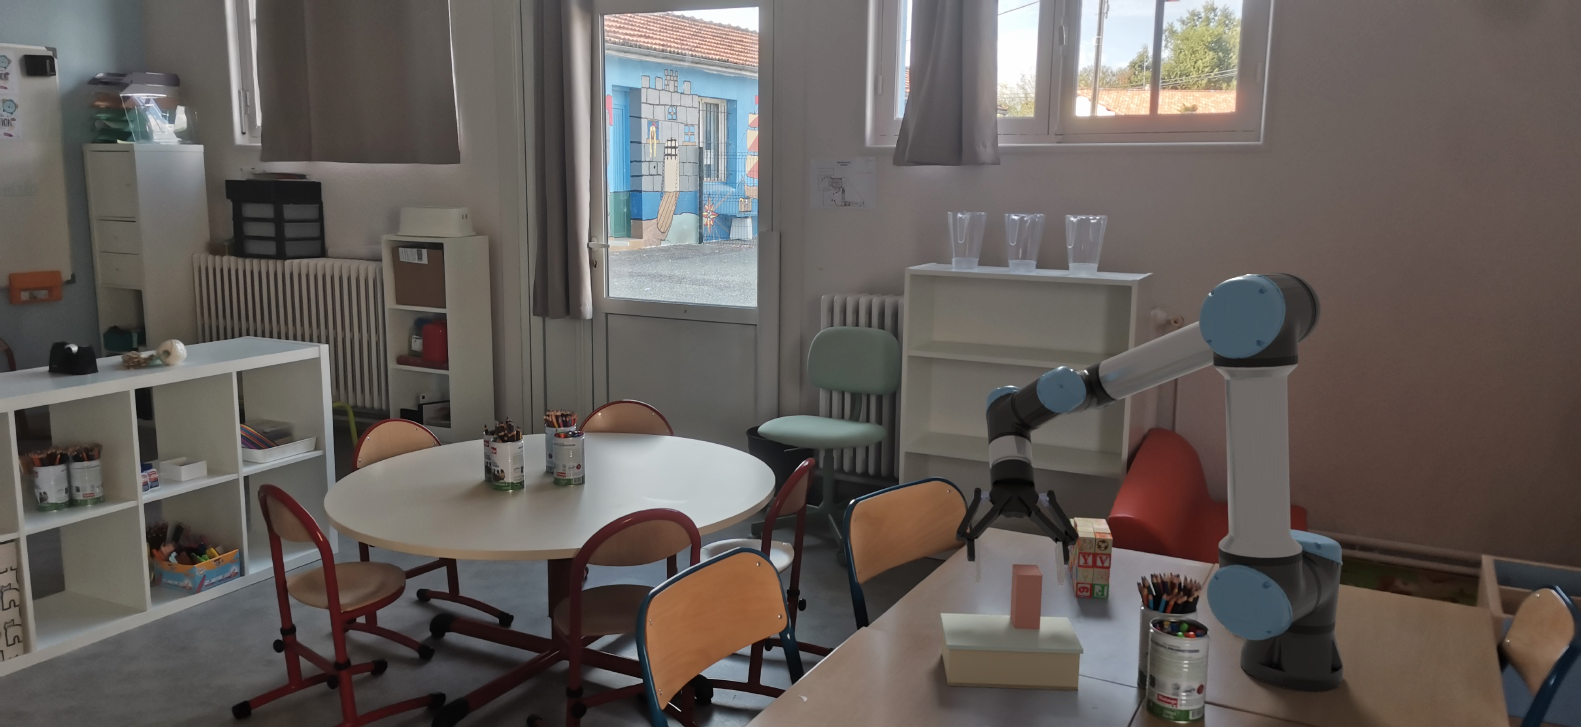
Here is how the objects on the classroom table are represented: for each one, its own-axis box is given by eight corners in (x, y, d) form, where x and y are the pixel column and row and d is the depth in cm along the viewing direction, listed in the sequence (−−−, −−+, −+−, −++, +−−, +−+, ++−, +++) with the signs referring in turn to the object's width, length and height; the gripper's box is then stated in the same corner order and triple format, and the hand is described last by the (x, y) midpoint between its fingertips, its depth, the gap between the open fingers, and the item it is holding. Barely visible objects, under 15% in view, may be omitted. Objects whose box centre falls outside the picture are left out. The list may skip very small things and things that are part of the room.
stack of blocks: (1067, 560, 228) (1070, 504, 226) (1098, 562, 227) (1101, 505, 225) (1075, 597, 207) (1078, 535, 205) (1109, 599, 206) (1113, 537, 204)
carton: (1063, 657, 179) (1065, 623, 179) (1077, 690, 168) (1080, 653, 167) (941, 653, 181) (943, 619, 180) (947, 685, 169) (949, 649, 168)
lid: (1067, 621, 179) (1070, 565, 177) (1083, 653, 166) (1086, 593, 165) (940, 616, 180) (942, 561, 179) (946, 648, 167) (949, 588, 166)
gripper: (1079, 480, 192) (1092, 592, 180) (938, 476, 194) (941, 586, 181) (1087, 459, 186) (1101, 572, 174) (941, 454, 188) (944, 567, 175)
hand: (1019, 580), depth 177 cm, fingers open, 13 cm apart
